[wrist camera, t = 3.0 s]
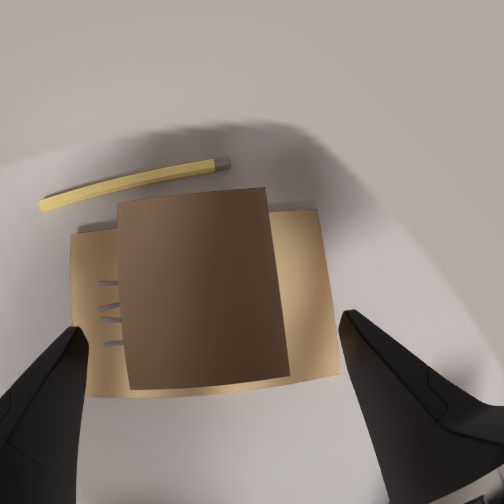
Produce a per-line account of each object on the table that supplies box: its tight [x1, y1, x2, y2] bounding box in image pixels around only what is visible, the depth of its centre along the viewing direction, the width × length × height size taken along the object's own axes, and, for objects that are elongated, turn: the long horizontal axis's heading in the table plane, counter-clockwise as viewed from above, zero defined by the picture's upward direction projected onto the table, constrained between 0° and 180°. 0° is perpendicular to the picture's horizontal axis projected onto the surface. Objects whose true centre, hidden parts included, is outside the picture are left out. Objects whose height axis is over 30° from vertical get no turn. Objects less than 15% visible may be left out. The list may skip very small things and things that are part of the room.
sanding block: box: [117, 187, 290, 390], centre depth 13 cm, size 4×6×10 cm
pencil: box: [39, 157, 230, 212], centre depth 20 cm, size 15×1×1 cm, turn 102°
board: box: [70, 209, 341, 398], centre depth 18 cm, size 17×11×1 cm, turn 97°
